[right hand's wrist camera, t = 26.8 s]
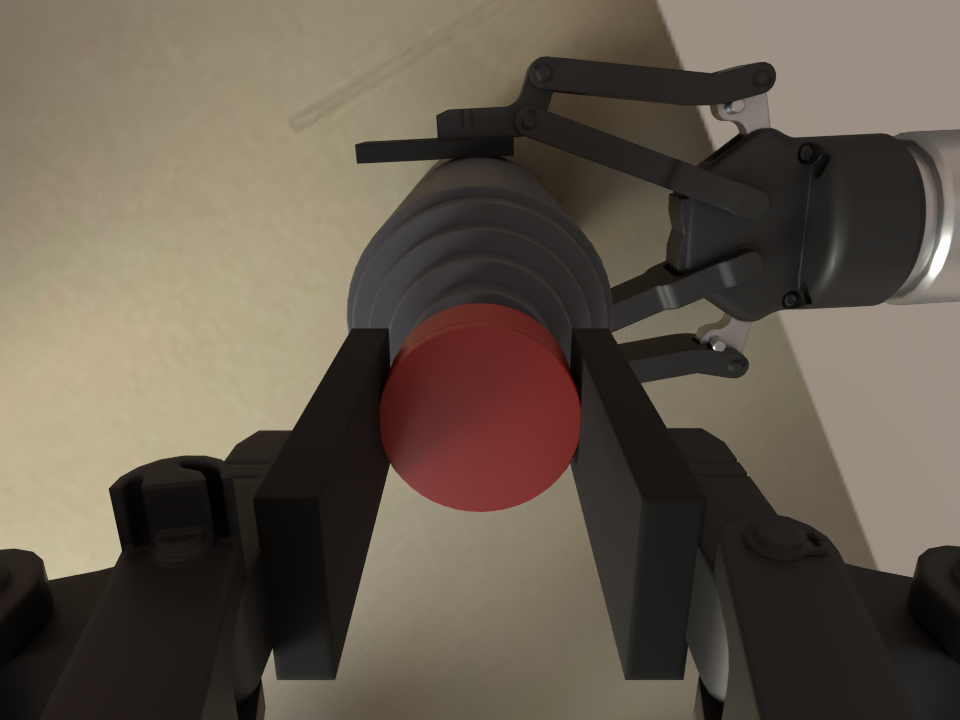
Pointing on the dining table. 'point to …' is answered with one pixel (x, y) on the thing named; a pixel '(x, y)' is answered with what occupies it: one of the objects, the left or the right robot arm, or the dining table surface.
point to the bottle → (480, 255)
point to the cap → (480, 409)
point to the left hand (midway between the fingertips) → (371, 246)
